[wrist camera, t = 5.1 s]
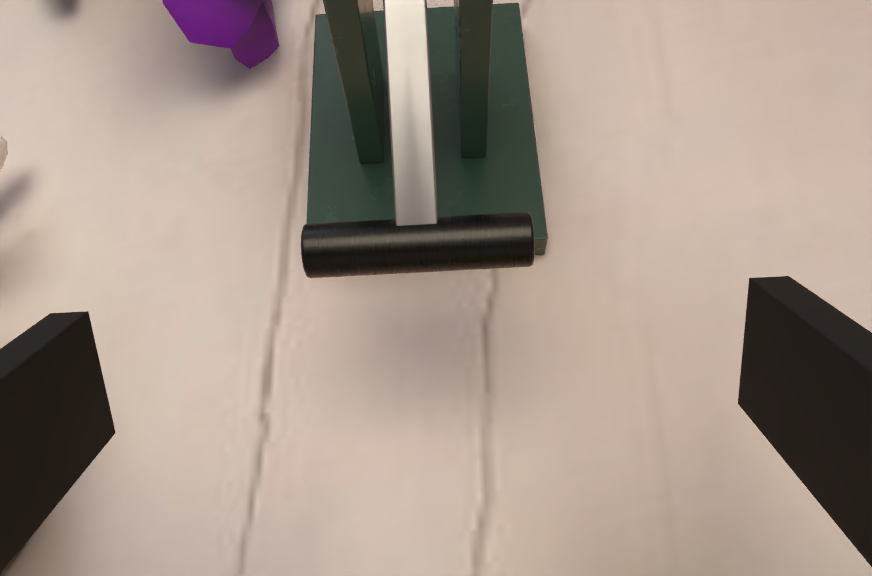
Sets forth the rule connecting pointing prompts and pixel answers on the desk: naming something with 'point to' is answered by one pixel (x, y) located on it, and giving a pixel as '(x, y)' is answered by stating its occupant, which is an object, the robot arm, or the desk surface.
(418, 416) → the desk surface
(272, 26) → the flower
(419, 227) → the lever
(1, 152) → the rabbit figurine
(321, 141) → the bracket
